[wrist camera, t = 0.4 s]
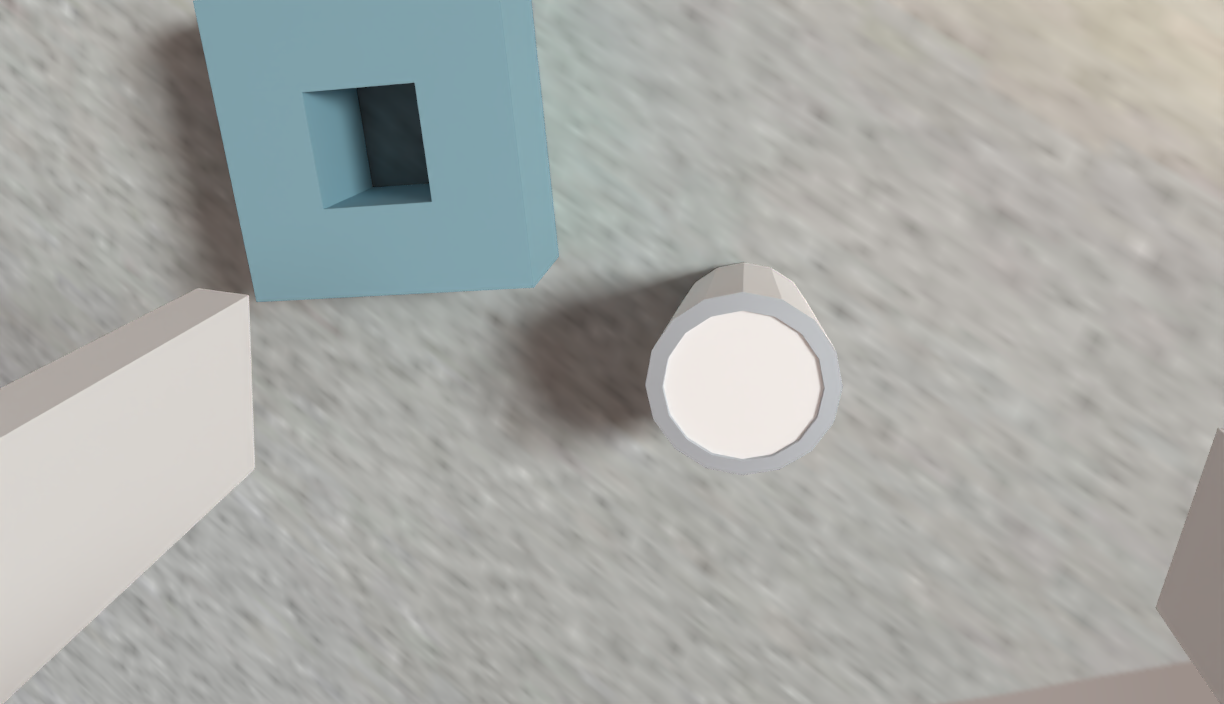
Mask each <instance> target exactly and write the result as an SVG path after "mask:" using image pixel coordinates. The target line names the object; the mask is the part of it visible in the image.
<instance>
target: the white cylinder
mask: <svg viewBox="0 0 1224 704" xmlns="http://www.w3.org/2000/svg"><path fill="white" fill-rule="evenodd" d="M645 387H646V391H647V395H648V399H649V403H650V407H651V411H652V416H653V420H654V421H655V423H656V424H657V425H658V427H659V428H660V429H661V431H662V432H663V433H664V435H665V436H666V437H667V439H668V440H669V441H670V443H671V444H672V445H673V447H674V448H675V449H676V450H678V451H679V452H681V453H683V454H684V455H686V456H687V457H689V458H691V459H692V460H694V461H696V462H697V463H699V464H700V465H702V466H704V467H705V468H708V469H713V470H718V471H723V472H728V473H733V474H738V475H748V474H754V473H760V472H767V471H773V470H779V469H781V468H783V467H785V466H786V465H788V464H790V463H792V462H793V461H795V460H797V459H799V458H800V457H802V456H804V455H806V454H807V453H809V452H811V451H812V450H813V449H814V447H815V446H816V445H817V443H818V442H819V441H820V440H821V438H822V437H823V436H824V435H825V433H826V432H827V431H828V429H829V428H830V427H831V426H832V424H833V423H834V420H835V416H836V412H837V409H838V405H839V401H840V397H841V393H842V389H843V385H842V380H841V374H840V369H839V363H838V357H837V352H836V350H835V348H834V347H833V345H832V343H831V341H830V340H829V338H828V336H827V335H826V333H825V331H824V330H823V328H822V326H821V325H820V323H819V321H818V319H817V318H816V316H815V314H814V313H813V311H812V309H811V308H810V306H809V304H808V303H807V301H806V300H805V298H804V297H803V295H802V294H801V292H800V291H799V289H798V288H797V287H796V285H795V284H794V282H793V281H791V280H790V279H788V278H787V277H785V276H784V275H782V274H780V273H779V272H777V271H776V270H774V269H773V268H771V267H767V266H762V265H756V264H751V263H745V262H743V263H738V264H733V265H728V266H723V267H718V268H716V269H714V270H713V271H711V272H710V273H708V274H707V275H705V276H704V277H702V278H701V279H699V280H698V281H696V282H695V283H694V285H693V286H692V288H691V289H690V291H689V292H688V294H687V295H686V297H685V298H684V300H683V301H682V303H681V304H680V306H679V307H678V309H677V311H676V312H675V314H674V315H673V317H672V319H671V320H670V322H669V323H668V325H667V327H666V328H665V330H664V331H663V333H662V335H661V336H660V338H659V340H658V341H657V343H656V344H655V346H654V348H653V349H652V351H651V357H650V362H649V368H648V373H647V379H646V384H645Z"/></svg>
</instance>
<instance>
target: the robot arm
mask: <svg viewBox="0 0 1224 704" xmlns="http://www.w3.org/2000/svg"><path fill="white" fill-rule="evenodd" d="M254 469H255V453H254V425H253V397H252V369H251V340H250V312H249V295H245V294H238V293H231V292H223V291H216V290H209V289H202V288H197V289H195V290H193V291H191V292H189V293H187V294H185V295H183V296H181V297H179V298H177V299H175V300H173V301H171V302H169V303H167V304H165V305H163V306H161V307H159V308H157V309H155V310H153V311H151V312H149V313H147V314H145V315H143V316H141V317H140V318H138V319H136V320H134V321H132V322H130V323H128V324H126V325H124V326H122V327H120V328H118V329H116V330H114V331H112V332H110V333H108V334H106V335H104V336H102V337H100V338H98V339H96V340H94V341H92V342H90V343H88V344H86V345H84V346H82V347H81V348H79V349H77V350H75V351H73V352H71V353H69V354H67V355H65V356H63V357H61V358H59V359H57V360H55V361H53V362H51V363H49V364H47V365H45V366H43V367H41V368H39V369H37V370H35V371H33V372H31V373H29V374H27V375H25V376H23V377H22V378H20V379H18V380H16V381H14V382H12V383H10V384H8V385H6V386H4V387H2V388H0V704H3V703H4V702H5V701H6V700H8V699H9V698H10V697H11V696H12V695H13V694H14V693H15V692H16V691H17V690H18V689H19V688H20V687H21V686H23V685H24V684H25V683H26V682H27V681H28V680H29V679H30V678H31V677H32V676H33V675H34V674H35V673H36V672H38V671H39V670H40V669H41V668H42V667H43V666H44V665H45V664H46V663H47V662H48V661H49V660H50V659H52V658H53V657H54V656H55V655H56V654H57V653H58V652H59V651H60V650H61V649H62V648H63V647H64V646H65V645H67V644H68V643H69V642H70V641H71V640H72V639H73V638H74V637H75V636H76V635H77V634H78V633H79V632H80V631H82V630H83V629H84V628H85V627H86V626H87V625H88V624H89V623H90V622H91V621H92V620H93V619H94V618H95V617H97V616H98V615H99V614H100V613H101V612H102V611H103V610H104V609H105V608H106V607H107V606H108V605H109V604H110V603H112V602H113V601H114V600H115V599H116V598H117V597H118V596H119V595H120V594H121V593H122V592H123V591H124V590H126V589H127V588H128V587H129V586H130V585H131V584H132V583H133V582H134V581H135V580H136V579H137V578H138V577H139V576H141V575H142V574H143V573H144V572H145V571H146V570H147V569H148V568H149V567H150V566H151V565H152V564H153V563H154V562H156V561H157V560H158V559H159V558H160V557H161V556H162V555H163V554H164V553H165V552H166V551H167V550H168V549H169V548H171V547H172V546H173V545H174V544H175V543H176V542H177V541H178V540H179V539H180V538H181V537H182V536H183V535H184V534H186V533H187V532H188V531H189V530H190V529H191V528H192V527H193V526H194V525H195V524H196V523H197V522H198V521H200V520H201V519H202V518H203V517H204V516H205V515H206V514H207V513H208V512H209V511H210V510H211V509H212V508H213V507H215V506H216V505H217V504H218V503H219V502H220V501H221V500H222V499H223V498H224V497H225V496H226V495H227V494H228V493H230V492H231V491H232V490H233V489H234V488H235V487H236V486H237V485H238V484H239V483H240V482H241V481H242V480H243V479H245V478H246V477H247V476H248V475H249V474H250V473H251V472H252V471H253V470H254ZM1156 609H1157V611H1158V612H1159V614H1160V615H1161V617H1162V618H1163V620H1164V621H1165V623H1166V624H1167V626H1168V627H1169V629H1170V630H1171V632H1172V633H1173V635H1174V636H1175V638H1176V639H1177V640H1178V642H1179V643H1180V645H1181V646H1182V648H1183V649H1184V651H1185V652H1186V654H1187V655H1188V657H1189V658H1190V660H1191V661H1192V663H1193V664H1194V666H1195V667H1196V669H1197V670H1198V671H1199V673H1200V675H1201V676H1202V678H1203V679H1204V680H1205V682H1206V683H1207V685H1208V686H1209V688H1210V689H1211V691H1212V692H1213V694H1214V695H1215V697H1216V698H1217V699H1218V701H1219V702H1220V704H1224V429H1222V428H1218V429H1217V432H1216V435H1215V437H1214V440H1213V443H1212V446H1211V449H1210V452H1209V455H1208V458H1207V461H1206V463H1205V466H1204V469H1203V472H1202V475H1201V478H1200V481H1199V484H1198V487H1197V490H1196V492H1195V495H1194V498H1193V501H1192V504H1191V507H1190V510H1189V513H1188V516H1187V518H1186V521H1185V524H1184V527H1183V530H1182V533H1181V536H1180V539H1179V542H1178V544H1177V547H1176V550H1175V553H1174V556H1173V559H1172V562H1171V565H1170V568H1169V570H1168V573H1167V576H1166V579H1165V582H1164V585H1163V588H1162V591H1161V594H1160V596H1159V599H1158V602H1157V605H1156Z"/></svg>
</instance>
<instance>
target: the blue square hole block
mask: <svg viewBox="0 0 1224 704" xmlns="http://www.w3.org/2000/svg"><path fill="white" fill-rule="evenodd" d="M193 3H194V8H195V12H196V17H197V22H198V26H199V31H200V36H201V41H202V45H203V50H204V55H205V60H206V64H207V69H208V74H209V79H210V83H211V88H212V93H213V98H214V102H215V107H216V112H217V117H218V121H219V126H220V131H221V136H222V140H223V145H224V150H225V155H226V159H227V164H228V169H229V174H230V178H231V183H232V188H233V193H234V197H235V202H236V207H237V212H238V216H239V221H240V226H241V231H242V235H243V240H244V245H245V250H246V254H247V259H248V264H249V269H250V273H251V278H252V283H253V287H254V292H255V297H256V302H267V301H286V300H305V299H324V298H343V297H362V296H382V295H401V294H420V293H439V292H458V291H478V290H497V289H516V288H534V287H535V285H536V284H537V283H538V282H539V280H540V279H541V278H542V277H543V276H544V274H545V273H546V272H547V271H548V269H549V268H550V267H551V266H552V264H553V263H554V262H555V261H556V259H557V258H558V257H559V253H558V244H557V235H556V225H555V216H554V207H553V197H552V188H551V179H550V169H549V160H548V151H547V142H546V132H545V123H544V114H543V104H542V95H541V86H540V76H539V67H538V58H537V49H536V39H535V30H534V21H533V11H532V2H531V0H195V1H193ZM404 83H415V89H416V96H417V103H418V110H419V116H420V123H421V130H422V137H423V144H424V150H425V157H426V164H427V171H428V178H429V183H427V184H412V185H398V186H384V187H373V186H372V180H371V174H370V168H369V162H368V156H367V150H366V144H365V138H364V132H363V125H362V119H361V113H360V107H359V101H358V95H357V89H356V88H359V87H370V86H382V85H393V84H404Z"/></svg>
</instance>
